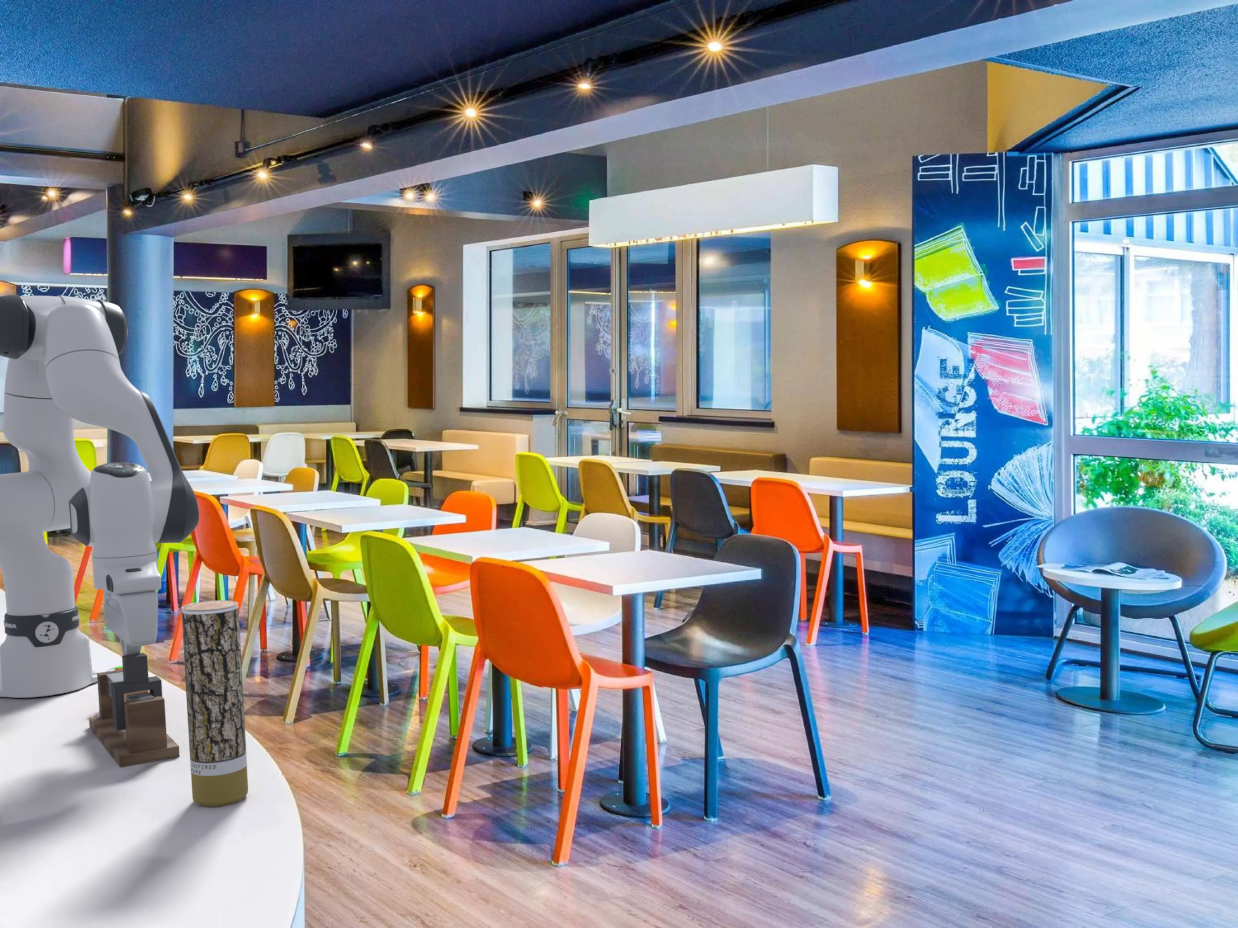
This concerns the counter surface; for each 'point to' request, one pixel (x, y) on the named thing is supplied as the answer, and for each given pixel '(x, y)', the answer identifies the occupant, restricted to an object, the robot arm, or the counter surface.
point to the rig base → (133, 729)
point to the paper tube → (215, 702)
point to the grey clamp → (132, 685)
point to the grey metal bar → (129, 696)
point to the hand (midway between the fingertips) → (131, 666)
